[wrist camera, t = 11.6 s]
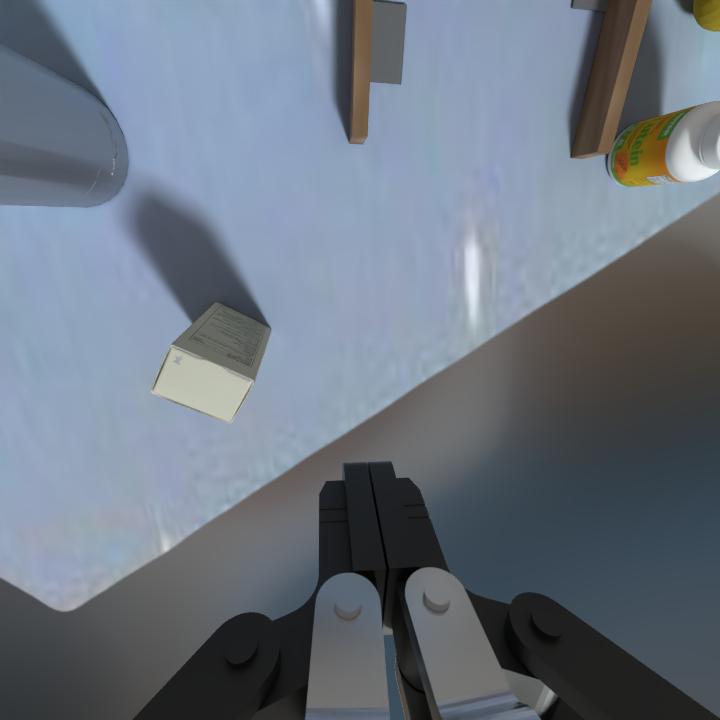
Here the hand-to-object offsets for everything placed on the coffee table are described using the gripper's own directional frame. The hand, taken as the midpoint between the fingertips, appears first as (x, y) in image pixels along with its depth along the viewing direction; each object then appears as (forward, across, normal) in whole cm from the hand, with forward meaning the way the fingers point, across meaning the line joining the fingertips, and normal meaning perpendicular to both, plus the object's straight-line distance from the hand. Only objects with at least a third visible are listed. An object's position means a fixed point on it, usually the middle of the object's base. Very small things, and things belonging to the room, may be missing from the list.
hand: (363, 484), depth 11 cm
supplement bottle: (+27, -28, -14) cm, 42 cm away
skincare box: (+27, +10, +4) cm, 29 cm away
